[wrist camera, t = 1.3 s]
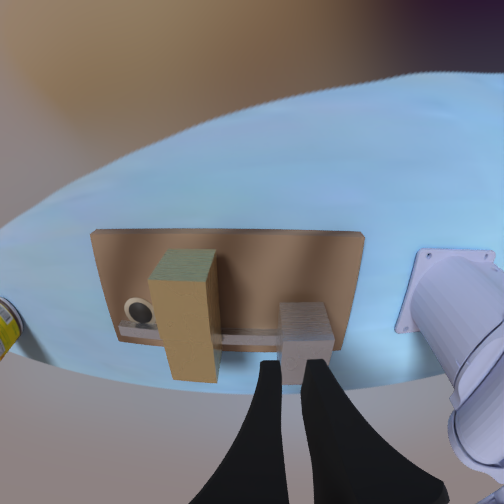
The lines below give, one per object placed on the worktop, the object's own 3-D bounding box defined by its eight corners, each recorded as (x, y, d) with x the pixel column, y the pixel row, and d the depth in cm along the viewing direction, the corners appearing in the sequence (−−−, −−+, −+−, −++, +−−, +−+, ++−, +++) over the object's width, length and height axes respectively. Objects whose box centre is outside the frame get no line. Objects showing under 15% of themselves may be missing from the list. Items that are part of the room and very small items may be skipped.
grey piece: (327, 295, 20) (343, 339, 15) (320, 337, 21) (330, 382, 17) (113, 289, 20) (85, 326, 16) (124, 329, 22) (103, 368, 17)
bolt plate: (360, 231, 19) (365, 237, 18) (338, 342, 23) (341, 351, 22) (96, 229, 19) (89, 235, 18) (122, 334, 23) (118, 342, 22)
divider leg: (217, 244, 18) (205, 281, 14) (223, 340, 21) (216, 386, 17) (171, 243, 18) (147, 279, 14) (185, 338, 21) (172, 382, 17)
